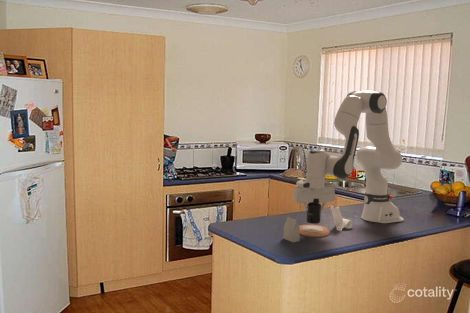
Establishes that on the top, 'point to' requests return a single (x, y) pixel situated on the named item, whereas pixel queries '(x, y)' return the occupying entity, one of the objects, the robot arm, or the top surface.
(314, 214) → the supplement bottle
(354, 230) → the top surface
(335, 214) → the plastic part
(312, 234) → the peach rimmed plate
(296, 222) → the tea bag
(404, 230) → the top surface
